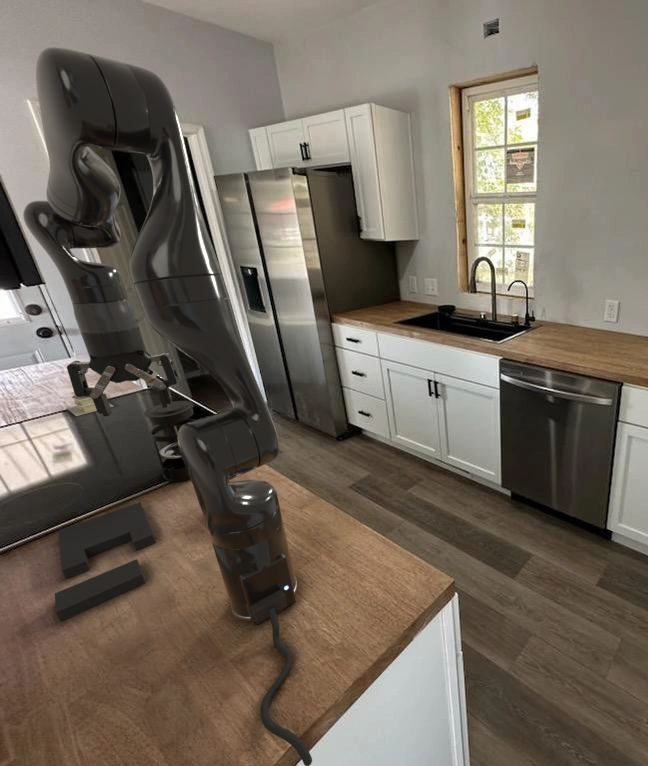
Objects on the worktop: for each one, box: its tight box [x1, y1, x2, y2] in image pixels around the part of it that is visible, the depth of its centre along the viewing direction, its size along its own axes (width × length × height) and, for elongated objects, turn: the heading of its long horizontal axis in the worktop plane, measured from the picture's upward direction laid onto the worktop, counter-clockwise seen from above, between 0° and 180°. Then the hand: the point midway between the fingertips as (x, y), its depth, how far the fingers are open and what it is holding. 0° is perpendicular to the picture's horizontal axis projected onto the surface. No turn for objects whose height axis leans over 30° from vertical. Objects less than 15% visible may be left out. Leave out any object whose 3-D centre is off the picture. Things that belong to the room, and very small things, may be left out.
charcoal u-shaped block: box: [57, 501, 157, 580], centre depth 78 cm, size 14×12×2 cm
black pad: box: [54, 559, 146, 622], centre depth 67 cm, size 10×5×2 cm, turn 137°
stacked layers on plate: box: [66, 386, 115, 417], centre depth 131 cm, size 10×9×6 cm
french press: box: [143, 384, 196, 483], centre depth 96 cm, size 12×9×23 cm
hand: (138, 410), depth 78 cm, fingers open, 8 cm apart
